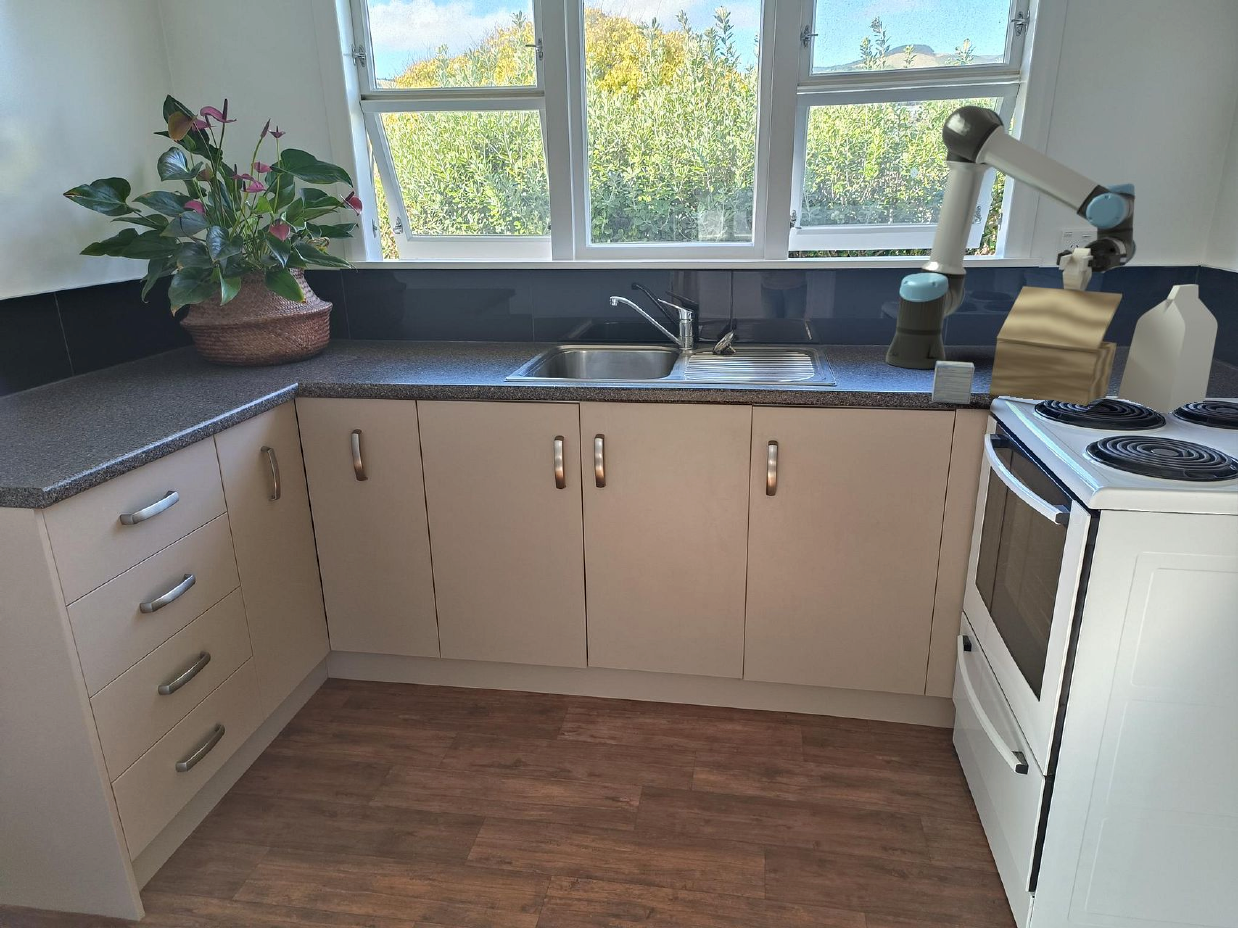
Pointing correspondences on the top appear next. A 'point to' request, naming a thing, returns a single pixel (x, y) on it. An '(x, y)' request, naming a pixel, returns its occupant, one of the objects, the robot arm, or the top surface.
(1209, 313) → the milk
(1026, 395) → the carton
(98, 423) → the top surface
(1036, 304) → the lid
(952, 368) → the grey wooden block
